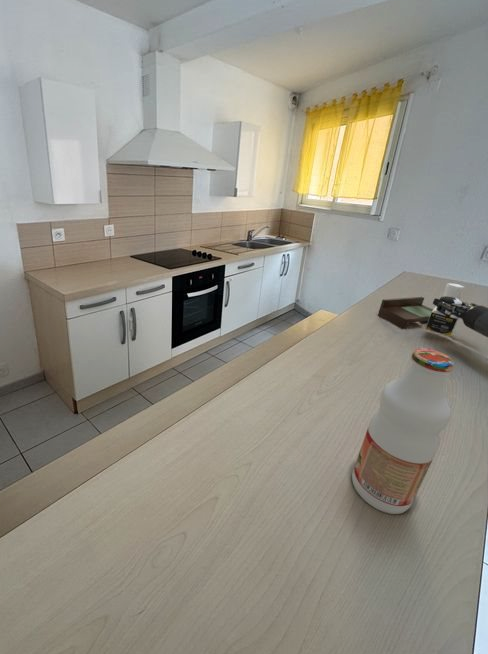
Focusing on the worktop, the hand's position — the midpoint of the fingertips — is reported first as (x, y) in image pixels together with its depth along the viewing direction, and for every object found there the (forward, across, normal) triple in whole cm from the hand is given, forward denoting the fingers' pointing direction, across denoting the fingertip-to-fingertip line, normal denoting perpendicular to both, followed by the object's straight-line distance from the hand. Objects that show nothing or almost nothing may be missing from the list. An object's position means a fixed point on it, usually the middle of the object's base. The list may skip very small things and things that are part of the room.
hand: (443, 301), depth 111 cm
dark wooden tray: (+12, -1, +13) cm, 18 cm away
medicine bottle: (-2, 0, +10) cm, 10 cm away
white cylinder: (+36, -39, +14) cm, 55 cm away
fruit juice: (-59, +57, +13) cm, 83 cm away
